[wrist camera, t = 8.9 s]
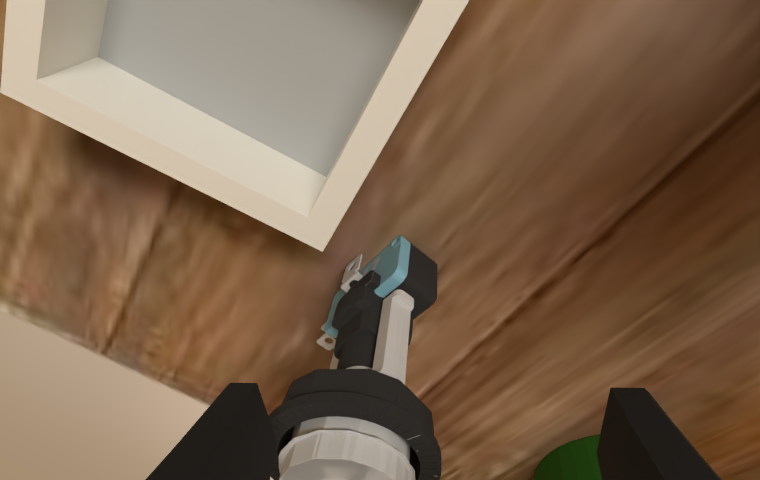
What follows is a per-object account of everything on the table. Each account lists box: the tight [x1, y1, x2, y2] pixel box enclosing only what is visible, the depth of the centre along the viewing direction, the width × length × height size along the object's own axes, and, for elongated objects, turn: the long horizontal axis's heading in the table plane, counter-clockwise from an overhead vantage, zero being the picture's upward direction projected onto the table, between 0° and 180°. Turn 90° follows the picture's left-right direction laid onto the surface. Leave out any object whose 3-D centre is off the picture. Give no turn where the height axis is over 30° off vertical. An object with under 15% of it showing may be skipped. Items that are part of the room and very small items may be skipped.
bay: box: [0, 0, 469, 252], centre depth 14 cm, size 11×11×4 cm
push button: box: [268, 235, 441, 480], centre depth 18 cm, size 7×5×10 cm
